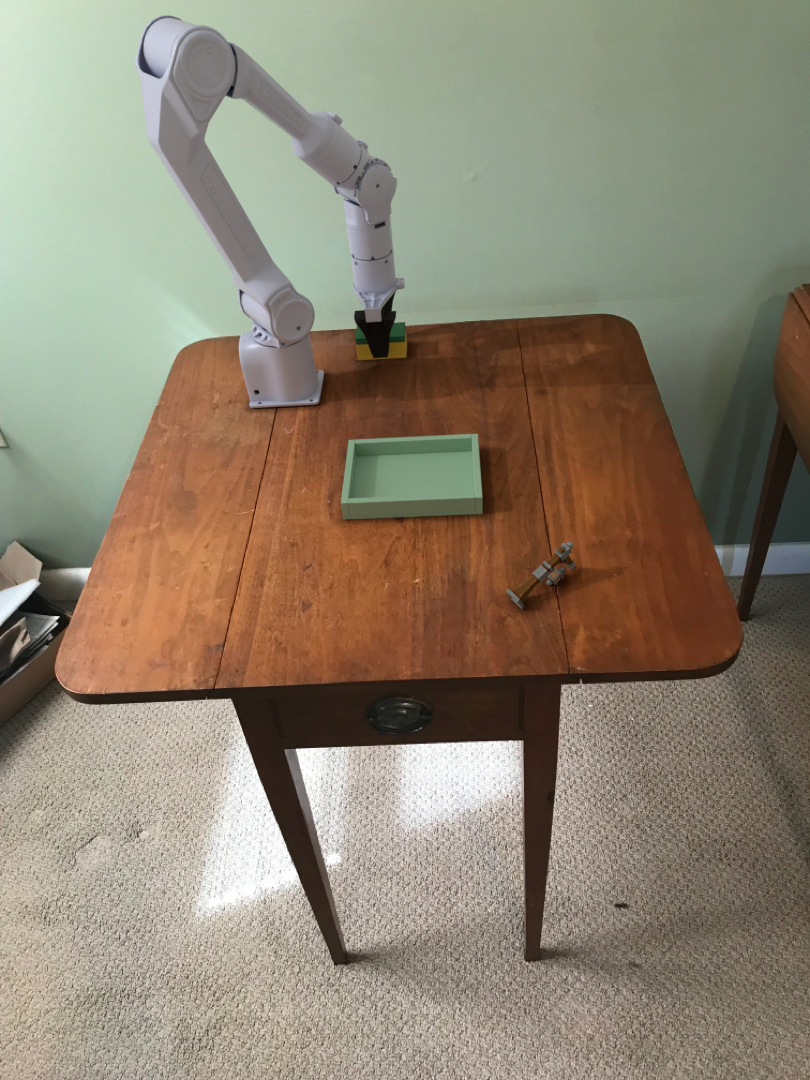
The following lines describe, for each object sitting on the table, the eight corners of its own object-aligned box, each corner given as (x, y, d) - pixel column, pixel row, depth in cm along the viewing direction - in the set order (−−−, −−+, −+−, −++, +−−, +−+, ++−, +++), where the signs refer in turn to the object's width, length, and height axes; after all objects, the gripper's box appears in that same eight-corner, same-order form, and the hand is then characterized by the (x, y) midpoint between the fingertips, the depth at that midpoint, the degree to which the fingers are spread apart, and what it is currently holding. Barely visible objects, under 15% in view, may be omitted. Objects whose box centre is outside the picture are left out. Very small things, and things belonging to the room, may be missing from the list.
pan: (343, 519, 86) (340, 503, 85) (351, 455, 95) (348, 439, 93) (482, 514, 85) (482, 497, 84) (478, 450, 94) (477, 433, 92)
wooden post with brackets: (587, 564, 77) (576, 543, 74) (529, 619, 77) (516, 601, 74) (574, 554, 78) (563, 533, 75) (518, 608, 78) (504, 589, 75)
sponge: (357, 360, 111) (354, 338, 108) (359, 346, 114) (356, 324, 111) (406, 357, 110) (404, 335, 108) (407, 343, 113) (405, 321, 111)
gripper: (400, 274, 96) (408, 368, 105) (403, 226, 106) (410, 316, 116) (344, 277, 96) (357, 371, 106) (352, 230, 107) (363, 319, 116)
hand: (381, 343), depth 111 cm, fingers open, 7 cm apart
